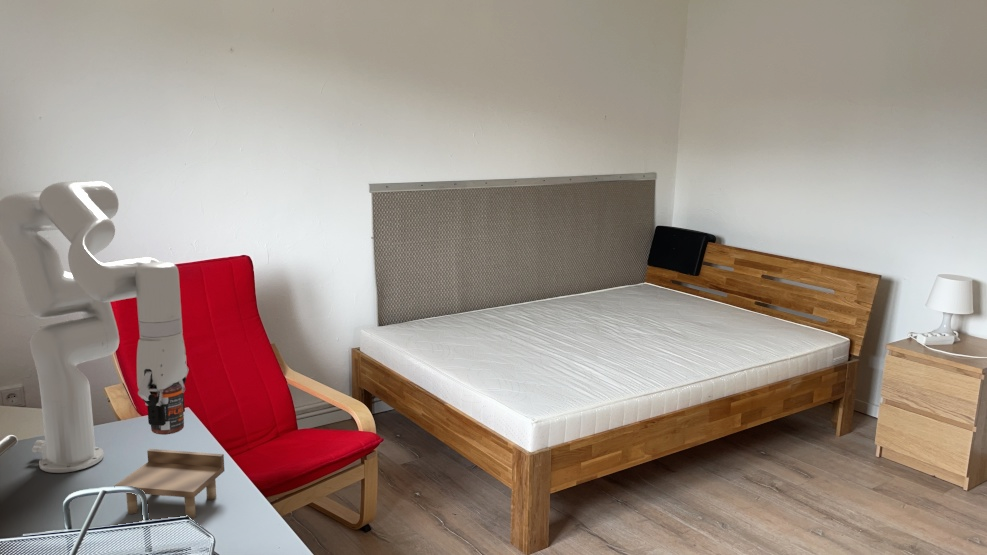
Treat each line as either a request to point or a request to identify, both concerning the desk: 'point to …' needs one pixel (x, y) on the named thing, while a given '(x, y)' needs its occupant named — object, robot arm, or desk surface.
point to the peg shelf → (175, 477)
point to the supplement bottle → (171, 410)
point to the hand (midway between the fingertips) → (167, 417)
